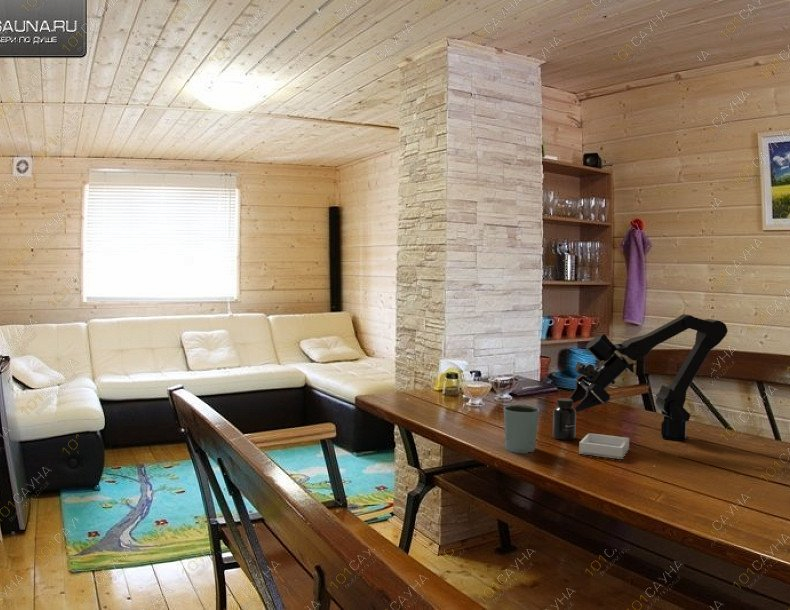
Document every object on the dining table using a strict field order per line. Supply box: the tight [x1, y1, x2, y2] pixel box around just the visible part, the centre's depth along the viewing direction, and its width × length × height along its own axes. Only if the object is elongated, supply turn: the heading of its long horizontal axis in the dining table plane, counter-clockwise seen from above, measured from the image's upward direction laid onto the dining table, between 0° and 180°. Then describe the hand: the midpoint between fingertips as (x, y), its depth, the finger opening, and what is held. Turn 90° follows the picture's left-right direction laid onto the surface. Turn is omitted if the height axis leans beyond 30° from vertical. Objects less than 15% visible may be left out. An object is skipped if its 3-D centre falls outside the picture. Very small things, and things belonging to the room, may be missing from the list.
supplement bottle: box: [552, 397, 577, 441], centre depth 206 cm, size 7×7×12 cm
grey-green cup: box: [503, 404, 540, 454], centre depth 194 cm, size 10×10×12 cm
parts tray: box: [578, 432, 630, 460], centre depth 191 cm, size 12×12×4 cm
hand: (572, 407), depth 206 cm, fingers open, 9 cm apart
